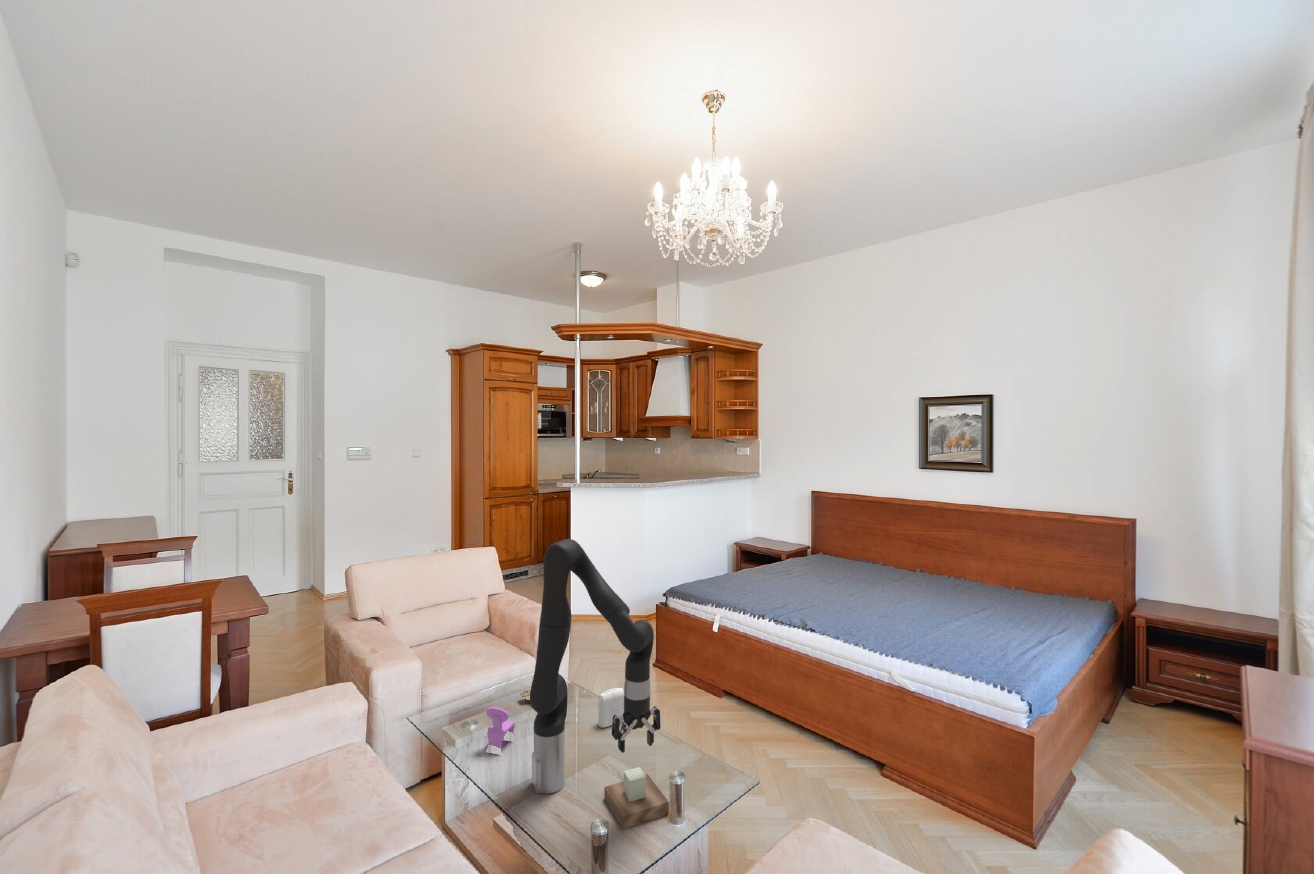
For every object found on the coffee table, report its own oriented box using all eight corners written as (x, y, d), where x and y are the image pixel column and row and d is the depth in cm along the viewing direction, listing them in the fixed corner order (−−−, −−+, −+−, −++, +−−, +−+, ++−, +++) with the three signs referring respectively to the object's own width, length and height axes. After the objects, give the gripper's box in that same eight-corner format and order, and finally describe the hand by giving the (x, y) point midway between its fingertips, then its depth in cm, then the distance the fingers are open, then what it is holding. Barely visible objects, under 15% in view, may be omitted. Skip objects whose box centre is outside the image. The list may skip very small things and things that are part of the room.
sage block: (629, 801, 166) (629, 780, 166) (623, 790, 171) (623, 770, 170) (646, 797, 168) (646, 776, 168) (639, 786, 172) (639, 766, 172)
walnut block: (623, 830, 160) (623, 816, 160) (604, 800, 172) (604, 786, 172) (668, 815, 166) (668, 801, 166) (647, 786, 179) (647, 774, 178)
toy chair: (518, 742, 201) (518, 699, 201) (504, 756, 193) (504, 711, 192) (496, 738, 204) (496, 695, 203) (482, 752, 195) (482, 708, 195)
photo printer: (621, 716, 219) (621, 683, 218) (627, 721, 215) (627, 688, 215) (596, 724, 213) (596, 690, 213) (602, 729, 210) (602, 695, 209)
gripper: (618, 703, 161) (617, 760, 162) (665, 693, 167) (664, 748, 168) (608, 691, 168) (608, 746, 169) (654, 682, 174) (653, 735, 175)
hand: (636, 747), depth 168 cm, fingers open, 8 cm apart
